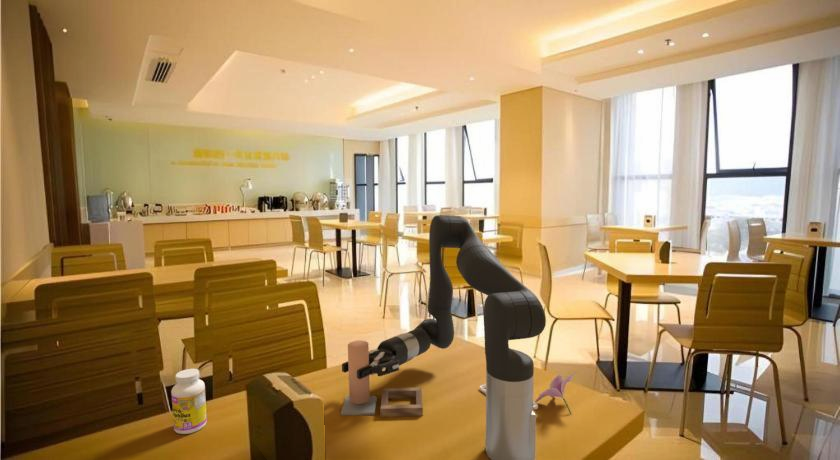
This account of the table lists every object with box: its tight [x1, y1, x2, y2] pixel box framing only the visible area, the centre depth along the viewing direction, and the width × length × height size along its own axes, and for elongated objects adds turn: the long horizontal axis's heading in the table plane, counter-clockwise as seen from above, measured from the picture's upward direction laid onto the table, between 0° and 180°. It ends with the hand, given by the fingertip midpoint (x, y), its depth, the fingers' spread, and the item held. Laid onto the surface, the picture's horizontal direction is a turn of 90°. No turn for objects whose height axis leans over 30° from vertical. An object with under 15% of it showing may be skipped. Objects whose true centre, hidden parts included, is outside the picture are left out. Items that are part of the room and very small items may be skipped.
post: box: [347, 340, 371, 404], centre depth 103 cm, size 5×5×14 cm
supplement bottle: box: [170, 368, 208, 435], centre depth 95 cm, size 7×7×13 cm
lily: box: [534, 372, 576, 415], centre depth 102 cm, size 12×12×10 cm
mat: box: [340, 395, 378, 416], centre depth 104 cm, size 8×8×1 cm
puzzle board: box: [379, 387, 424, 418], centre depth 104 cm, size 10×10×2 cm
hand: (350, 371), depth 101 cm, fingers closed on post, 5 cm apart
